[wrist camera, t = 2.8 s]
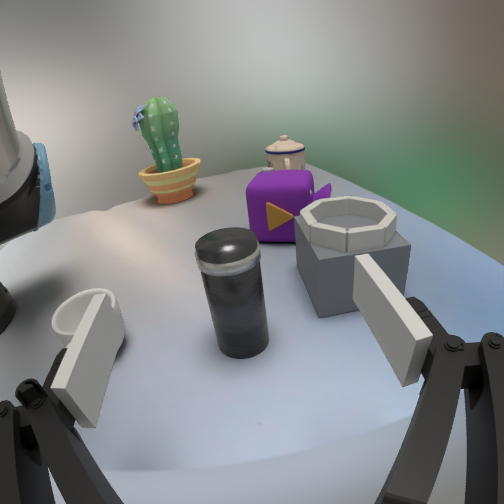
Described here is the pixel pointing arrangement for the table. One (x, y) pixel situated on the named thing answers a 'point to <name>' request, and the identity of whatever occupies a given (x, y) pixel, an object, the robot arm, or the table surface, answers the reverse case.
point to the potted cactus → (165, 152)
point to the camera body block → (346, 248)
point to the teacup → (80, 314)
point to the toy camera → (280, 202)
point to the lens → (234, 290)
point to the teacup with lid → (286, 155)
